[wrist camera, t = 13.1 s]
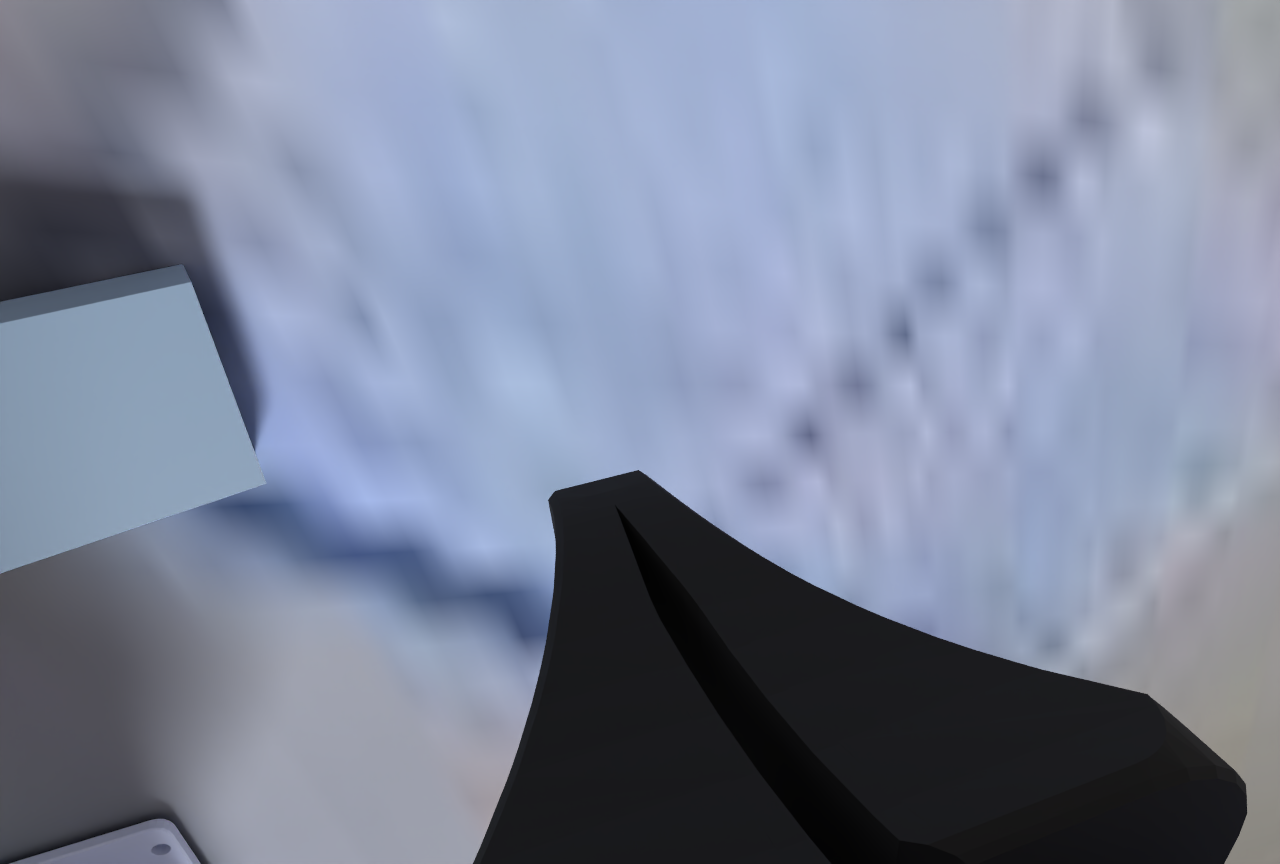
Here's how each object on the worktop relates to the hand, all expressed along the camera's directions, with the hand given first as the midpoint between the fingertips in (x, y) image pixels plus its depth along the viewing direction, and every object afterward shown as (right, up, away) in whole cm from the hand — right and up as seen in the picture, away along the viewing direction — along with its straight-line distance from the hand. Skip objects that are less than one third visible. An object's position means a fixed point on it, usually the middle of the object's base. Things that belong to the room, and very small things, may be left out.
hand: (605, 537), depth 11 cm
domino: (-9, +3, +7) cm, 12 cm away
